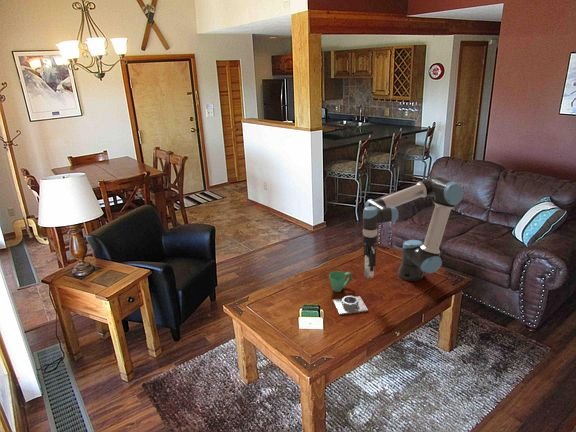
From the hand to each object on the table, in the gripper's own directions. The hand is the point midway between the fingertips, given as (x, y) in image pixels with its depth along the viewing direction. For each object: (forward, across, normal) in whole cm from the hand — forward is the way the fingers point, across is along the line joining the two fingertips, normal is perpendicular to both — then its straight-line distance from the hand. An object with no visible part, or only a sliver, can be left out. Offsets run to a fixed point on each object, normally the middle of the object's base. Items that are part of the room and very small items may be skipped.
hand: (369, 273), depth 224 cm
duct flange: (+16, +5, -13) cm, 21 cm away
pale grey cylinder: (+2, 0, 0) cm, 2 cm away
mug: (+17, -14, -13) cm, 25 cm away
